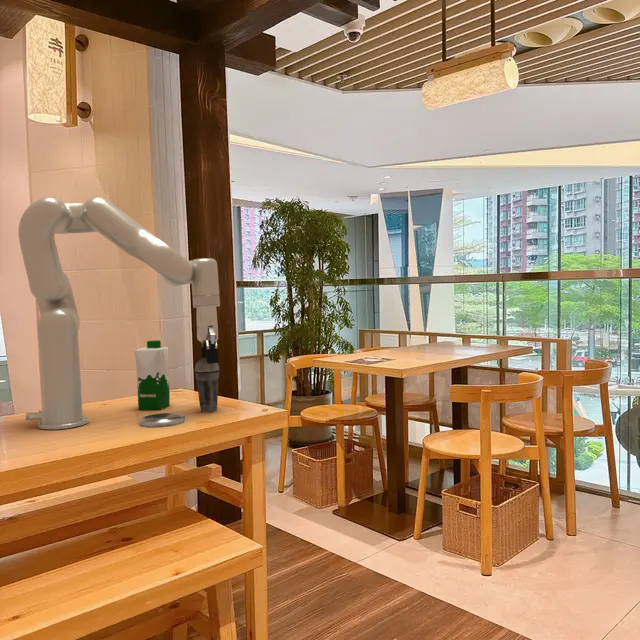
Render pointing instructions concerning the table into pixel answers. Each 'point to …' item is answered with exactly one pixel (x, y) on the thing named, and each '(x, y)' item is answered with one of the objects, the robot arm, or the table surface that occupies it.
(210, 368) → the beverage cup
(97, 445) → the table surface
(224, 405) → the table surface
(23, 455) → the table surface
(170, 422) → the flange plate
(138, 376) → the milk carton
